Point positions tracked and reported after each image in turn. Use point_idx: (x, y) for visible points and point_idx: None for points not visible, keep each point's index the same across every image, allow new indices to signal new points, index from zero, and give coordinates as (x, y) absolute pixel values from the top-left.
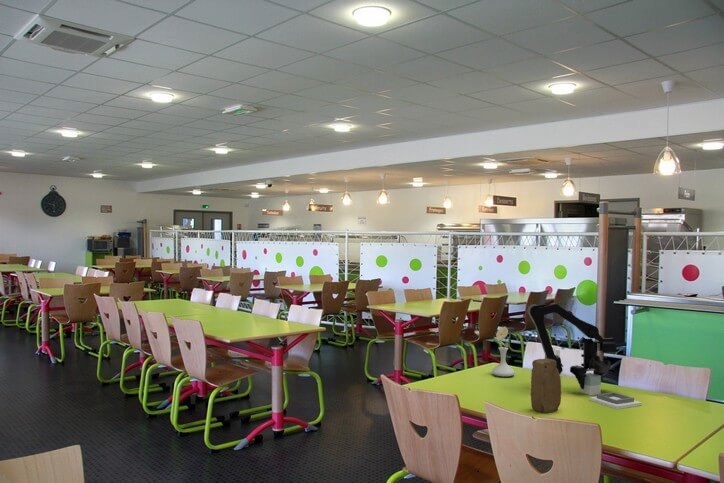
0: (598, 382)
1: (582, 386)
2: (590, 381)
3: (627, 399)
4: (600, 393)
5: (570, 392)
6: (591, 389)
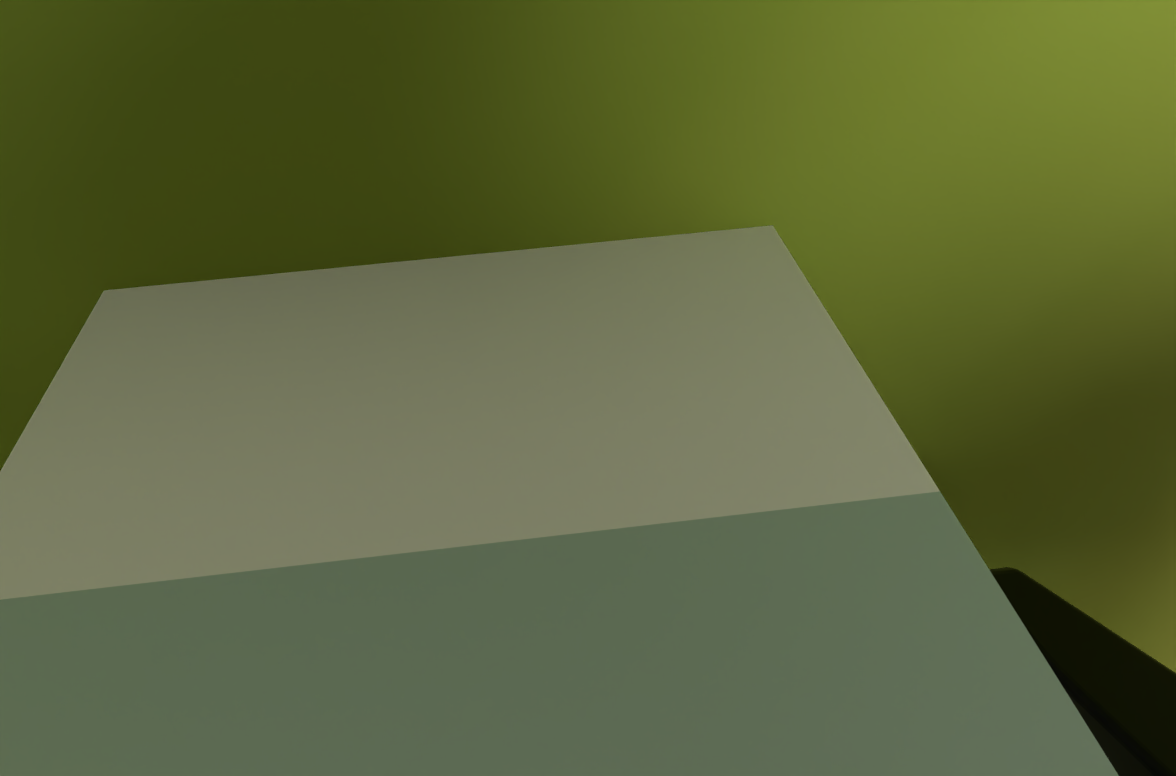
0: (112, 737)
1: (1125, 672)
2: (1102, 769)
3: None
4: (118, 294)
5: None
6: (787, 369)
